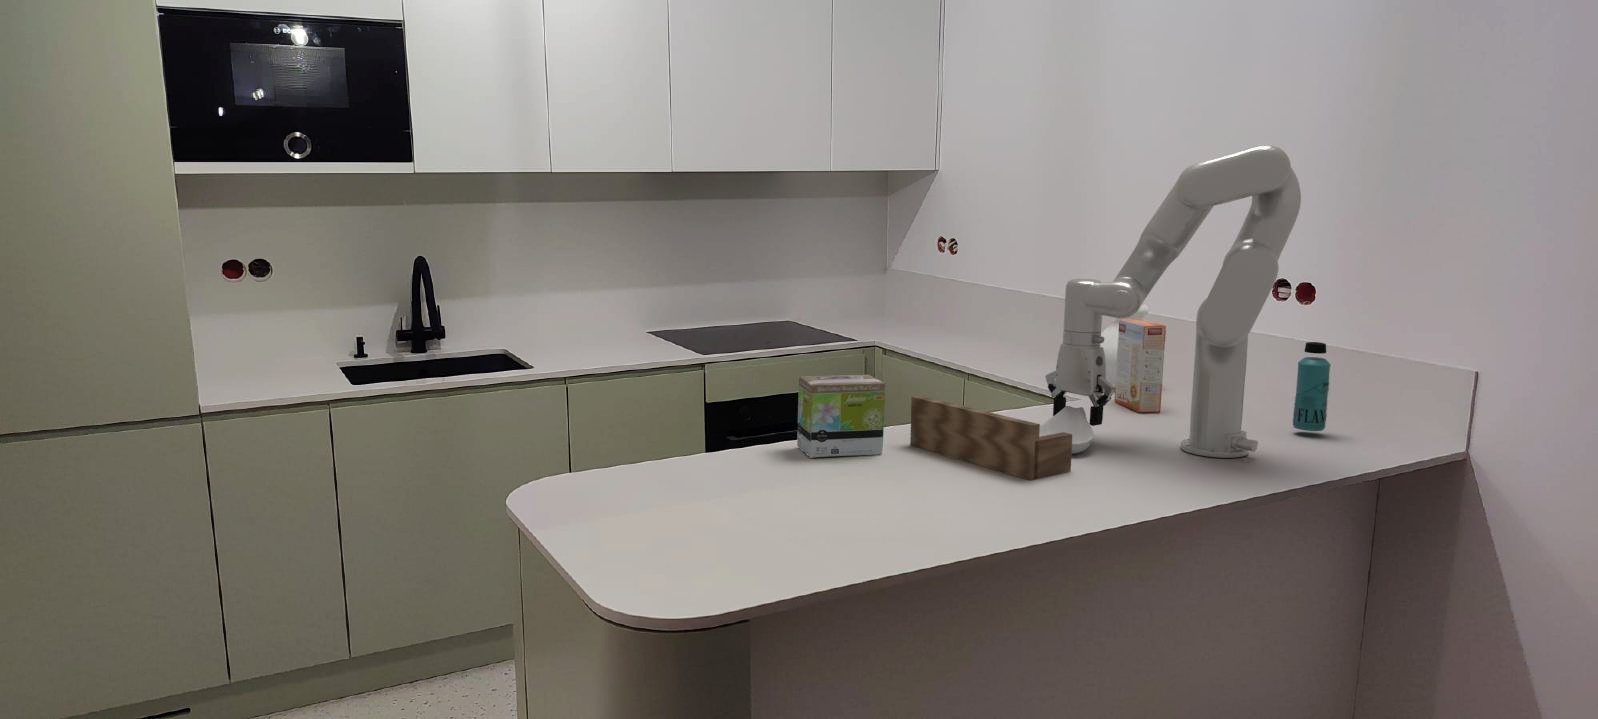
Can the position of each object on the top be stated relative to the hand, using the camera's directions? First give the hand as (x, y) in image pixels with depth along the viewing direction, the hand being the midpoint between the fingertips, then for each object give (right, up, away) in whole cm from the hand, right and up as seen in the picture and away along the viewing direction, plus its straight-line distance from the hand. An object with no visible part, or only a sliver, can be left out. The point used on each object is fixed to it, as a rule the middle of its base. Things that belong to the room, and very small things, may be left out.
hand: (1077, 420), depth 215 cm
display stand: (-22, -6, -15) cm, 27 cm away
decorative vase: (+29, +5, +59) cm, 66 cm away
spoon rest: (-3, -5, -4) cm, 7 cm away
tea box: (-50, -6, -10) cm, 51 cm away
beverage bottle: (+51, -4, +6) cm, 52 cm away
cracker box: (+24, +1, +34) cm, 41 cm away
